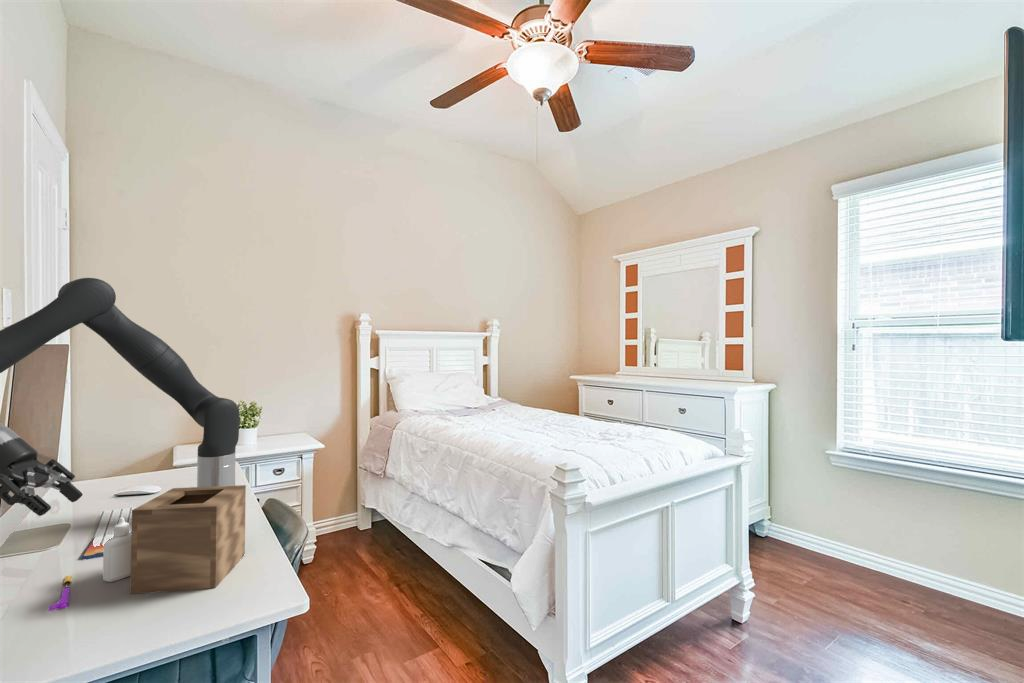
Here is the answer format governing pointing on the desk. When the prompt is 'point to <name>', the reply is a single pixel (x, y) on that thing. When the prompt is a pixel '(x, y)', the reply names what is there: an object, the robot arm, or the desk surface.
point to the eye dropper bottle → (117, 553)
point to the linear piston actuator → (63, 597)
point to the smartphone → (93, 551)
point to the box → (187, 538)
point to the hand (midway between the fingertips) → (63, 505)
